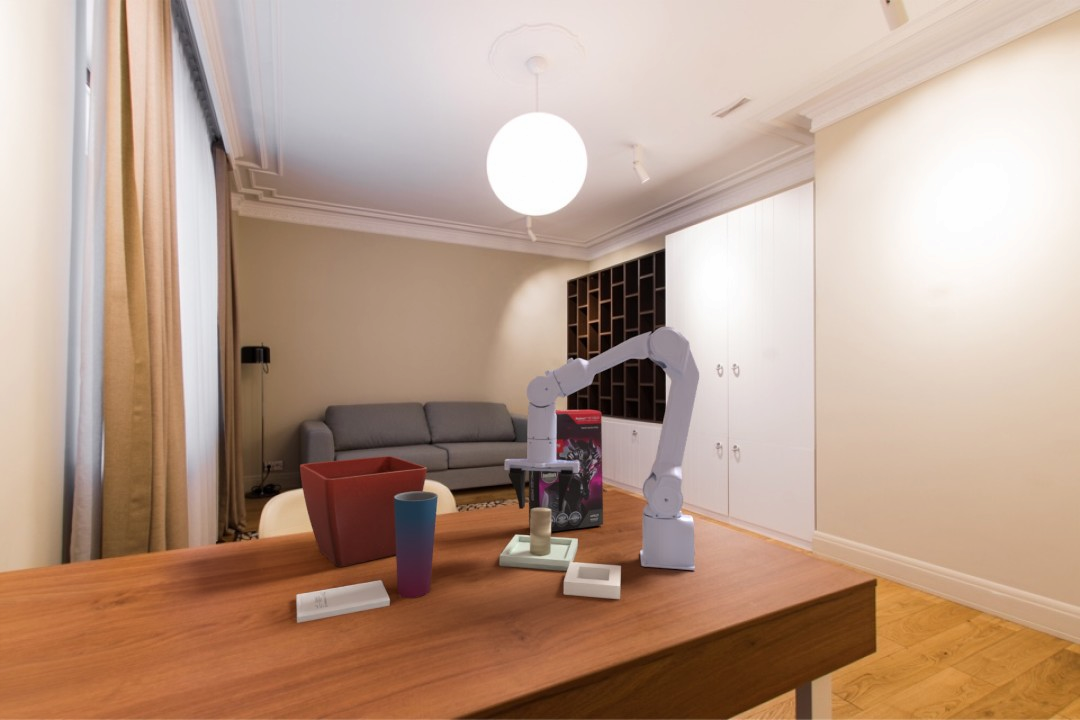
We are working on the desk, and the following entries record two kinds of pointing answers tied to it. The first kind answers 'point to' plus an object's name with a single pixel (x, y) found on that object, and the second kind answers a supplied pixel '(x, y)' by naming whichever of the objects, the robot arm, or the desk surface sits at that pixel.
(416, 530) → the cup
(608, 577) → the pin holder
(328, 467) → the plant pot
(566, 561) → the tray
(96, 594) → the desk surface
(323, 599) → the external hard drive
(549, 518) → the peg
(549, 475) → the graphics card box
